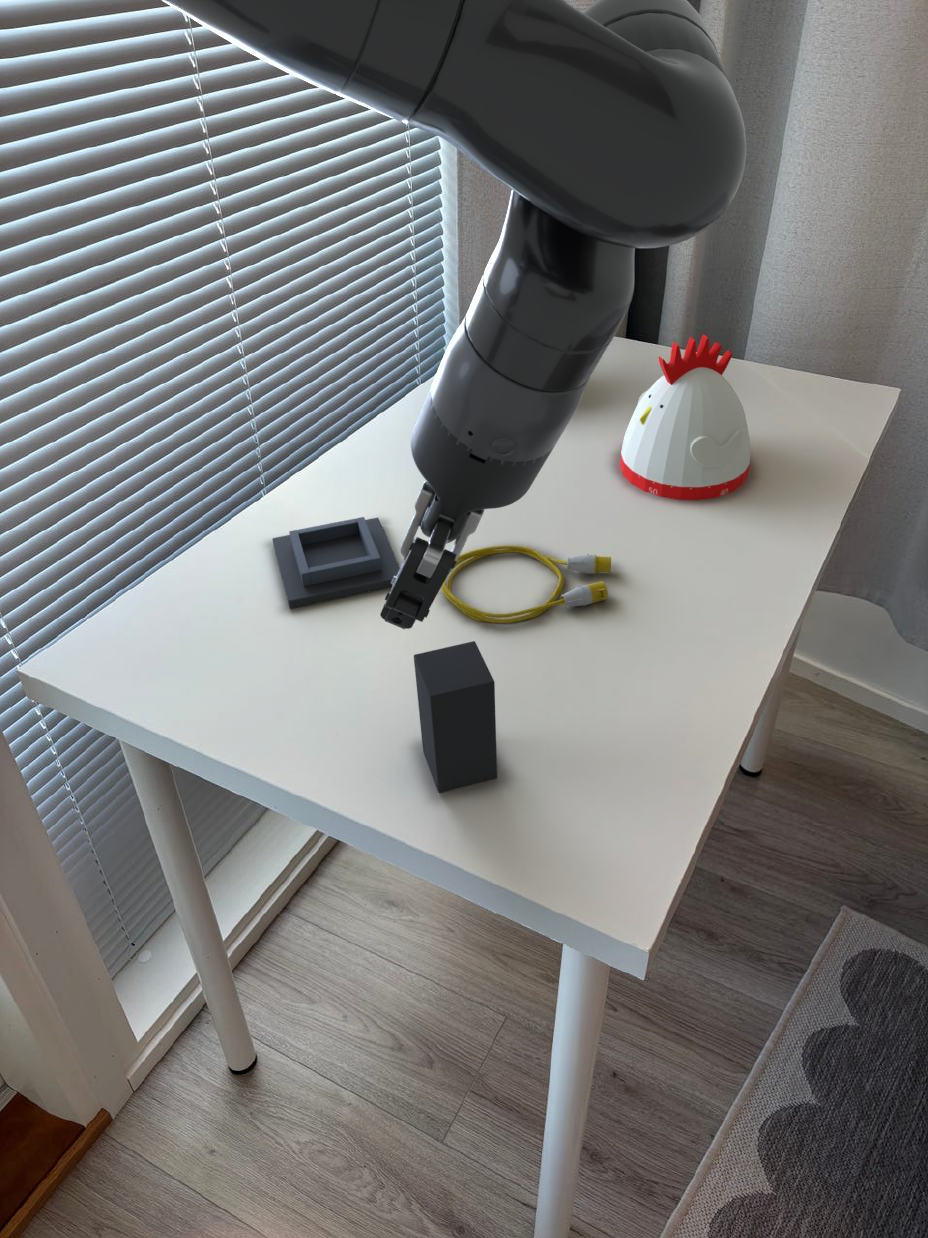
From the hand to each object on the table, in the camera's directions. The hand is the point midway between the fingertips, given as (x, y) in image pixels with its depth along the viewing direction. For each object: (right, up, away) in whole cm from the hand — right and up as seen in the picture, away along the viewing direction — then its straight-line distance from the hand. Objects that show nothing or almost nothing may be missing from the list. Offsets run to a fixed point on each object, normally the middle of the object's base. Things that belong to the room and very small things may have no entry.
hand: (414, 572), depth 64 cm
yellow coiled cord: (+9, -1, +25) cm, 27 cm away
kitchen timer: (+28, +13, +41) cm, 51 cm away
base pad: (-9, +2, +29) cm, 31 cm away
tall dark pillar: (+3, -14, +8) cm, 17 cm away
